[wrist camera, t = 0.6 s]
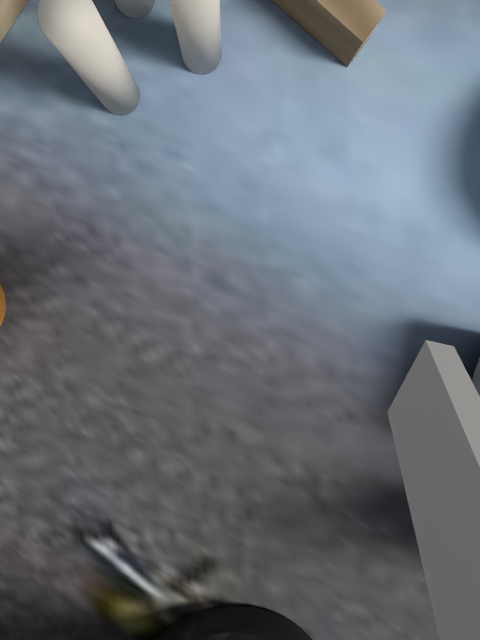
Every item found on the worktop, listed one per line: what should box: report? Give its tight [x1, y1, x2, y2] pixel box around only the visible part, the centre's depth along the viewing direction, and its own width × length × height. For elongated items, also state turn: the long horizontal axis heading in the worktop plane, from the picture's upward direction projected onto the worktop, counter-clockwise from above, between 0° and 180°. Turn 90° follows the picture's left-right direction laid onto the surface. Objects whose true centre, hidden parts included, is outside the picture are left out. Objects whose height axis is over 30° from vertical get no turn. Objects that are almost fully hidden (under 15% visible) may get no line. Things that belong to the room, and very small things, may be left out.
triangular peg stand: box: [0, 0, 386, 67], centre depth 23 cm, size 15×20×3 cm
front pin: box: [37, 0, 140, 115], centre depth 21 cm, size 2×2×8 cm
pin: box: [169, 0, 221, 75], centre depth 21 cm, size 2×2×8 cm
